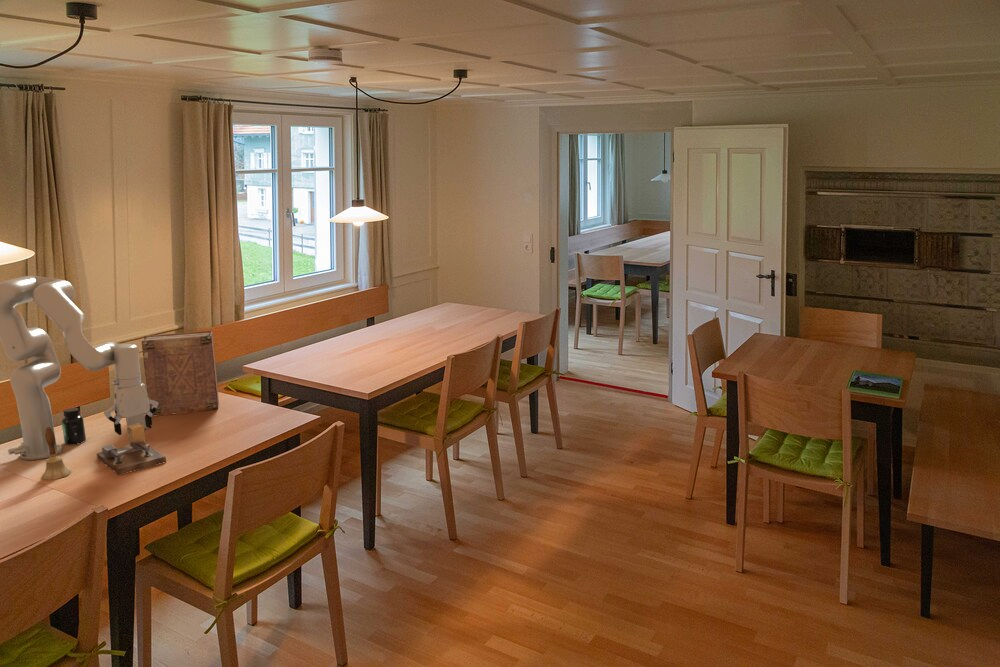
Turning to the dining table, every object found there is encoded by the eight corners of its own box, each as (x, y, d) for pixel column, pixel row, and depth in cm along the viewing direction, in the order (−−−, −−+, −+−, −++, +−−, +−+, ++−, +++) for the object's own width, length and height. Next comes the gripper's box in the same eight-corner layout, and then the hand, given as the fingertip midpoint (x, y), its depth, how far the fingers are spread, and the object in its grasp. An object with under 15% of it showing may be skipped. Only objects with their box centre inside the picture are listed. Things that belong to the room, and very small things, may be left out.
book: (149, 416, 316) (140, 341, 310) (152, 409, 325) (143, 335, 318) (218, 409, 323) (211, 335, 317) (219, 402, 332) (212, 330, 325)
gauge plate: (118, 475, 259) (116, 459, 258) (97, 458, 273) (95, 444, 272) (166, 462, 269) (164, 447, 268) (143, 447, 283) (141, 432, 282)
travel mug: (150, 427, 303) (143, 375, 299) (140, 433, 297) (134, 380, 292) (134, 427, 304) (127, 375, 299) (124, 433, 297) (117, 380, 293)
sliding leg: (142, 456, 267) (139, 433, 266) (129, 447, 276) (126, 425, 274) (154, 453, 270) (151, 430, 268) (141, 444, 278) (138, 422, 277)
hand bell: (43, 482, 255) (36, 433, 251) (39, 473, 261) (32, 426, 258) (73, 475, 260) (66, 427, 256) (68, 467, 266) (61, 421, 263)
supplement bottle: (63, 446, 285) (58, 413, 283) (65, 440, 292) (61, 408, 289) (85, 443, 288) (80, 411, 285) (87, 437, 294) (82, 405, 291)
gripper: (105, 389, 262) (111, 439, 265) (160, 379, 273) (164, 427, 277) (97, 384, 267) (103, 433, 271) (151, 374, 278) (155, 422, 282)
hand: (134, 430), depth 274 cm, fingers open, 9 cm apart
